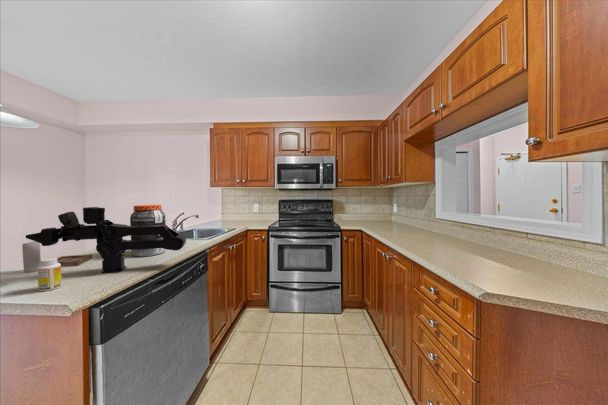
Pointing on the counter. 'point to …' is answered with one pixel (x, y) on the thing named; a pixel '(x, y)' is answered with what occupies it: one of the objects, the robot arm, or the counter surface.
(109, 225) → the robot arm
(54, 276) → the supplement bottle
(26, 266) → the beverage can
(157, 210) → the supplement tub
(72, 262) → the walnut tray
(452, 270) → the counter surface
